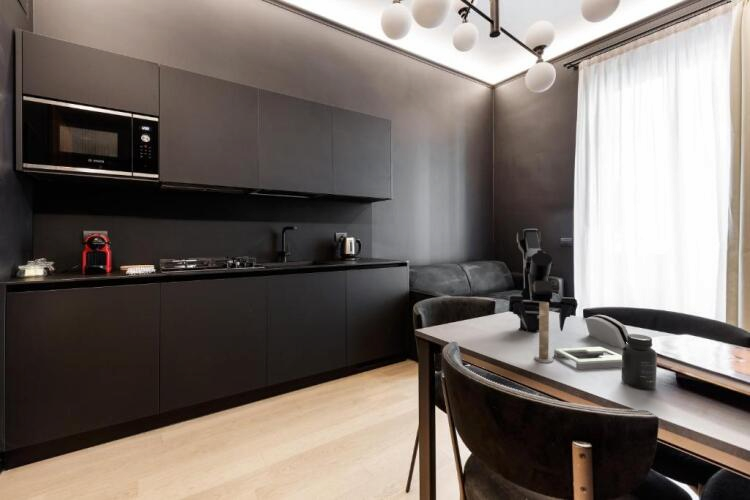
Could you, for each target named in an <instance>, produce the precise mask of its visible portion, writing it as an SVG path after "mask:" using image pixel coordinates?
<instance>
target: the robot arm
mask: <svg viewBox="0 0 750 500" xmlns="http://www.w3.org/2000/svg"><path fill="white" fill-rule="evenodd" d="M541 241H542V235H541V231H539V229H538V228H525V229H523V230H522V231H517V234H516V243H517V244H518V249H519V251H521V253H522V261H523V265H522V266H523V290H522V291H521V293H520V295H515V294H514V295H511V294H510V295H509V296H508V312H509V313H513V315H516V316H517V317H518V318H519V327H518V330H519V331H525V332H531V333H537V332H539V302H548V303H549V310H551V309H554V310H559V314H558V319H559V329H560V332H563V329H564V326H565V321H566V320H567V318H570V317H571V316H574V315H575V314H576V311H577V308H578V306H579V304H578V300H577V299H576V298H575V297H563V296H562V297H560V301H552V299H553V296H554V295H553V292H555V293H556V292H559V291H560V282H559V280H558V279H551V280H549V279H548V278H549V277H548V276H549V275H550V272H551V268H552V267H553V266H554V263H553V258H552V256H551V255H550V254H548V253H546V252H545V250H544V249H543V250H542V249H541V246H540V245H541V244H540V243H541Z"/></svg>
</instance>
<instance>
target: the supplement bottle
mask: <svg viewBox="0 0 750 500" xmlns="http://www.w3.org/2000/svg"><path fill="white" fill-rule="evenodd" d="M628 334H629V333H628ZM627 343H628V345H625V346H624V347H623V348H622V349H621V355H622V367H621V376H620V377H621V382H622V383H623V384H624V385H625V386H627V387H630V388H632V389H636V390H641V391H652V390H655V389H656V388H657V373H658V372H657V371H658V370H657V367H658V363H657V362H658V354H657V352H656V350H655V349H653V339H652V337H651V336H649V335H644V334H638V333H630V334H629V335H628V336H627Z"/></svg>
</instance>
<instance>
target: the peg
mask: <svg viewBox="0 0 750 500" xmlns="http://www.w3.org/2000/svg"><path fill="white" fill-rule="evenodd" d="M549 319H550V309H549V303H548V302H539V331H538V332H539V333H538V354H536V355H534V358H533V359H534V360H535V361H536V362H539V363H543V364H549V363H553V362H554V358H553V356H552V357H551V356H549V346H550V345H549V341H550V340H549V335H550V334H549V332H550V329H549V328H550V325H549V324H550V320H549Z"/></svg>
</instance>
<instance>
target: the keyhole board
mask: <svg viewBox="0 0 750 500" xmlns="http://www.w3.org/2000/svg"><path fill="white" fill-rule="evenodd" d="M553 350H554V351H553V353H554V354H553V356H554V357H556V358H562V357H564V358H567V359H569V360H570V361H573V362H575V366H576V369H578V370H592V369H608V368H609V369H610V368H622V354H619V353H617V352H614V351H612V350H609V349H607V348H606V347H605V348H604V347H602V346H586V347H585V346H584V347H583V346H582V347H564V348H554V349H553ZM605 353H606V354H607V355H604V354H605ZM582 356H583V357H584V356H598V357H597V358H595V357H593V358H592V357H591V358H578V357H582Z"/></svg>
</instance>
